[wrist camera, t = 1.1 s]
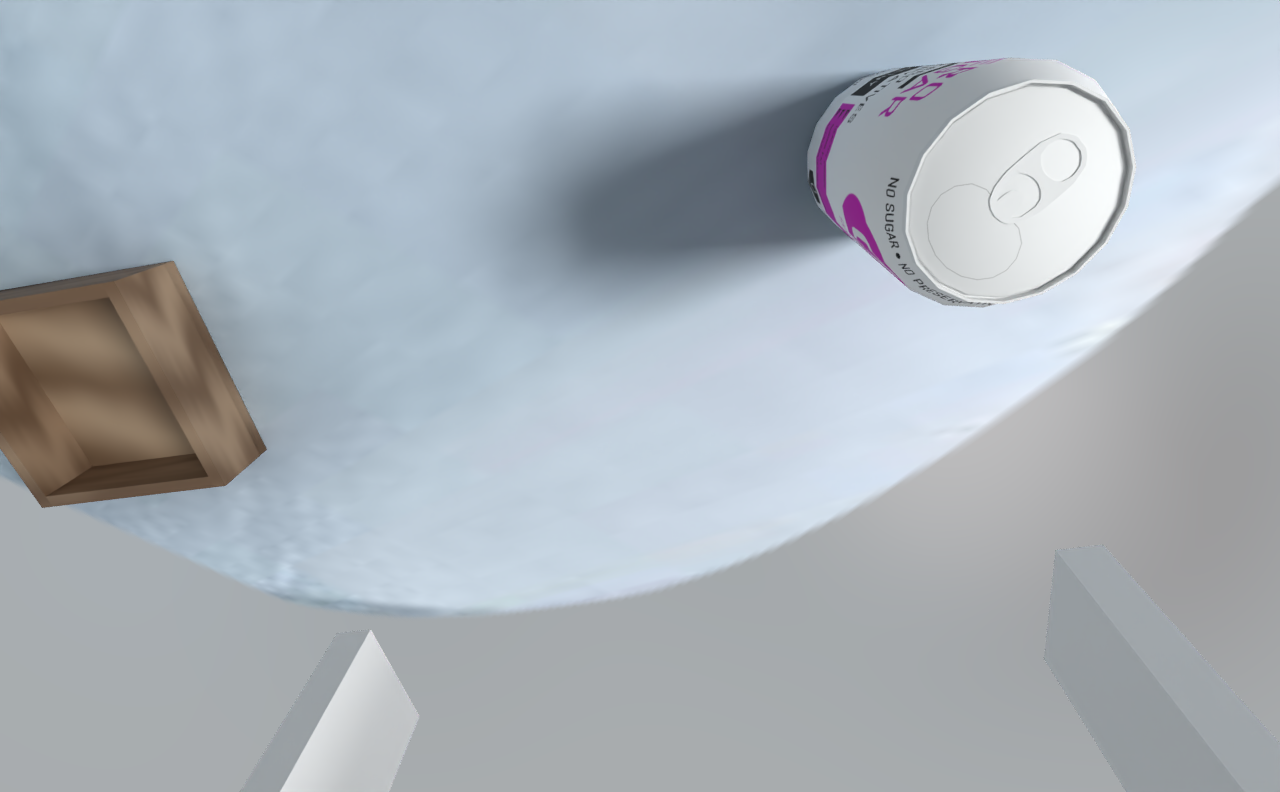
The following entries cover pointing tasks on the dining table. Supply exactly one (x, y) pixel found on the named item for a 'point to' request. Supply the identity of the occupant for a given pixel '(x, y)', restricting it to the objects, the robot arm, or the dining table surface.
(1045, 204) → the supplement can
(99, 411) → the walnut box
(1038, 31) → the dining table surface
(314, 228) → the dining table surface
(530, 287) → the dining table surface
